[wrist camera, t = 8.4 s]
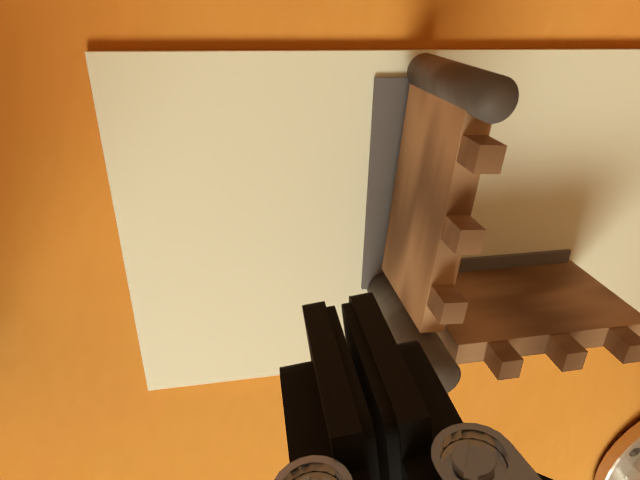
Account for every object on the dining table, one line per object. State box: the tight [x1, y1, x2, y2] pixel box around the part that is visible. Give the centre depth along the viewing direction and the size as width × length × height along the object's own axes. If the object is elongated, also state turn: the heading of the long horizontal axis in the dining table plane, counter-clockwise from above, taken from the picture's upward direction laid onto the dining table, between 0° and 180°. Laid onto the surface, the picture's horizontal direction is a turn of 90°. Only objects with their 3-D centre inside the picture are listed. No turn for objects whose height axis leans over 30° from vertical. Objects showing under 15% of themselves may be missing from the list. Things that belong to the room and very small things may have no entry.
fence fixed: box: [367, 260, 640, 393], centre depth 23 cm, size 11×2×7 cm, turn 89°
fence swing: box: [382, 53, 519, 333], centre depth 19 cm, size 10×1×6 cm, turn 176°
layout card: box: [85, 49, 640, 391], centre depth 24 cm, size 28×16×1 cm, turn 89°
